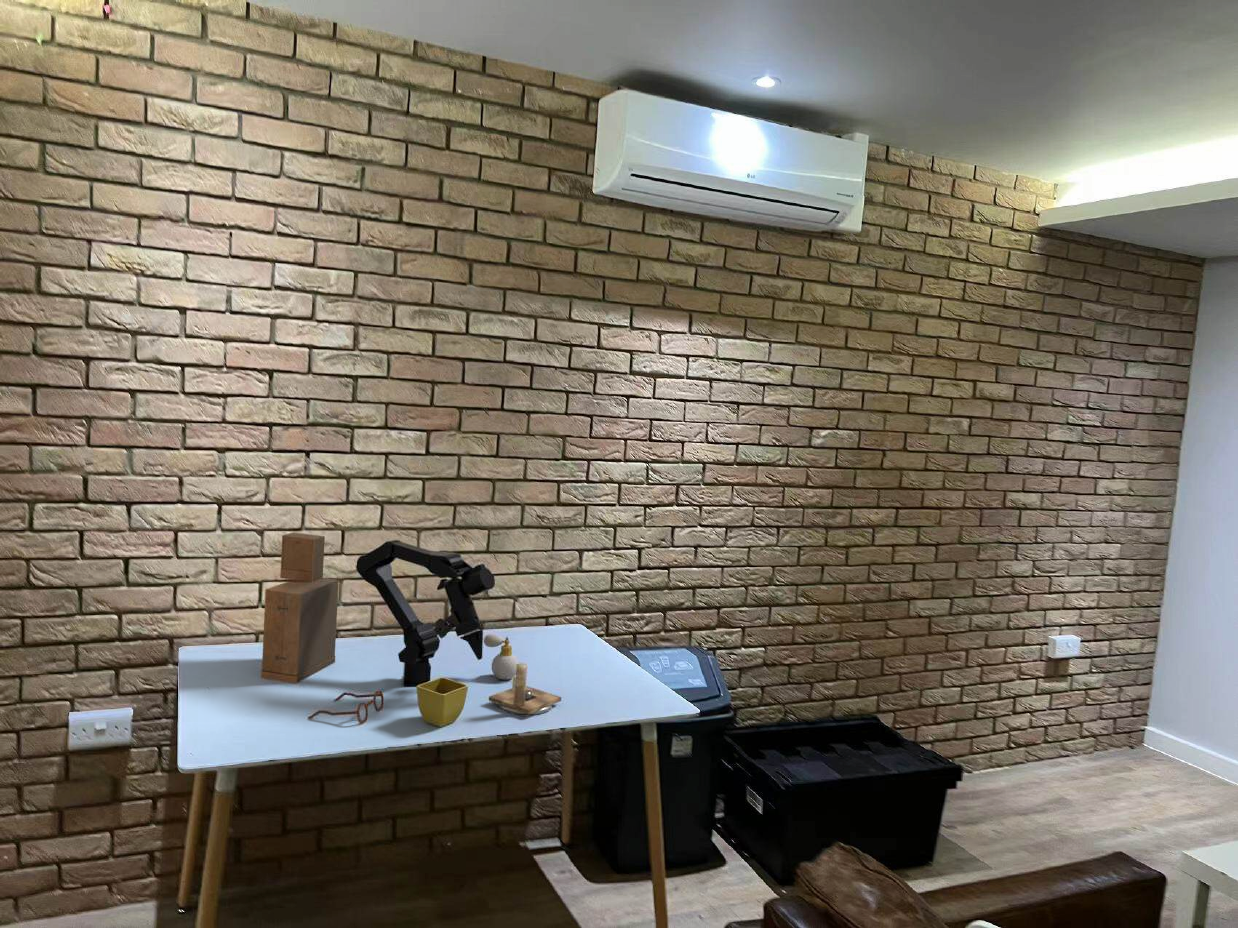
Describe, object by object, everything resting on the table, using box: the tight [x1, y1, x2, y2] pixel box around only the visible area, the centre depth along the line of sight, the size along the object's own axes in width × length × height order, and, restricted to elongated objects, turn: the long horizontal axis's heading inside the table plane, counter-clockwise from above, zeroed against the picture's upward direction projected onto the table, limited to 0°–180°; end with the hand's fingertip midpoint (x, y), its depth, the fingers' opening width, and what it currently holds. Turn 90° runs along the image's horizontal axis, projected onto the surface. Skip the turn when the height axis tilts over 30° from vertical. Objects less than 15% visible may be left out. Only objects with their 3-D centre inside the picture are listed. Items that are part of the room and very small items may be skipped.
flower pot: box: [415, 676, 469, 728], centre depth 209 cm, size 9×9×9 cm
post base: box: [496, 676, 554, 716], centre depth 226 cm, size 14×17×4 cm
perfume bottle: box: [483, 633, 520, 681], centre depth 243 cm, size 8×10×12 cm
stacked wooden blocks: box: [260, 532, 340, 684], centre depth 237 cm, size 19×14×35 cm
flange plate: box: [488, 662, 562, 714], centre depth 224 cm, size 13×13×11 cm
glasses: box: [307, 690, 385, 724], centre depth 211 cm, size 13×13×5 cm
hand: (480, 659), depth 226 cm, fingers closed
